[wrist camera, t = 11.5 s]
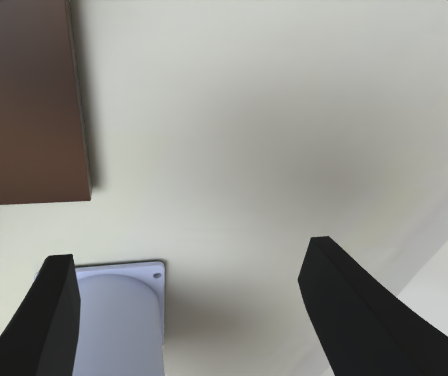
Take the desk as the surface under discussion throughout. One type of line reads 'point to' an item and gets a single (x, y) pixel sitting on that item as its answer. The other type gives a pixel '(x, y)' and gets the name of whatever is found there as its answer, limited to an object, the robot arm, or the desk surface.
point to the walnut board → (40, 106)
